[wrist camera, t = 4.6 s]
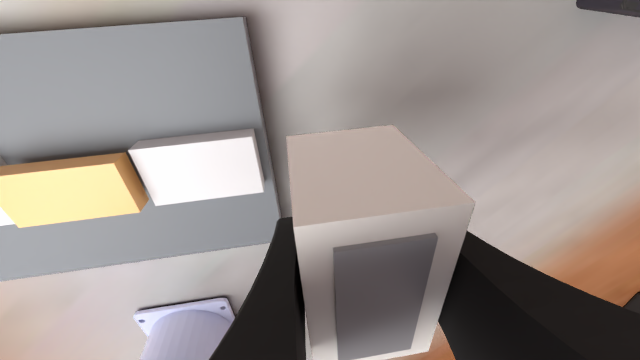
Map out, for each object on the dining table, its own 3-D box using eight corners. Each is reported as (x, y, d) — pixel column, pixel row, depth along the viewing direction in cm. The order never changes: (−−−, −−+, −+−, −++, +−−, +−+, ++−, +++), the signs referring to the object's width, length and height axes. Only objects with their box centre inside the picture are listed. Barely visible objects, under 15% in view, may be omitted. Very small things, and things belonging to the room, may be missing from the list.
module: (381, 247, 13) (430, 356, 9) (302, 259, 13) (315, 377, 9) (393, 124, 10) (480, 206, 6) (286, 135, 10) (293, 232, 5)
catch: (149, 199, 15) (140, 212, 14) (36, 213, 15) (19, 227, 14) (125, 152, 14) (113, 163, 13) (-2, 166, 13) (-25, 178, 12)
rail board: (283, 226, 21) (284, 253, 18) (3, 266, 19) (-34, 300, 17) (245, 16, 13) (239, 17, 11) (-221, 50, 12) (-343, 58, 9)
